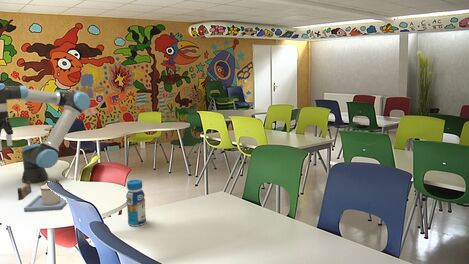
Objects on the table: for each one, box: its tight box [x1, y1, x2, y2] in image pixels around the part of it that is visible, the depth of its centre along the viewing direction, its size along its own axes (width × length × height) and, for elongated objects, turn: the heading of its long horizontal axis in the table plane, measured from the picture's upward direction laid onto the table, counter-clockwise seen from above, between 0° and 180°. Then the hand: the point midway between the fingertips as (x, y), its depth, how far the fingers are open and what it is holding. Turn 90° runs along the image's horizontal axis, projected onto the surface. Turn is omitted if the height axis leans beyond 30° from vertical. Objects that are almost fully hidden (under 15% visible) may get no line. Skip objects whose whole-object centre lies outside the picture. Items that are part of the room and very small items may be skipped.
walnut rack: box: [16, 179, 60, 201], centre depth 226 cm, size 14×18×6 cm
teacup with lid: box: [40, 180, 60, 205], centre depth 211 cm, size 12×9×12 cm
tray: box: [23, 194, 68, 213], centre depth 211 cm, size 20×18×2 cm
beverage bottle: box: [125, 179, 147, 227], centre depth 181 cm, size 8×8×20 cm
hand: (4, 148), depth 227 cm, fingers open, 13 cm apart
